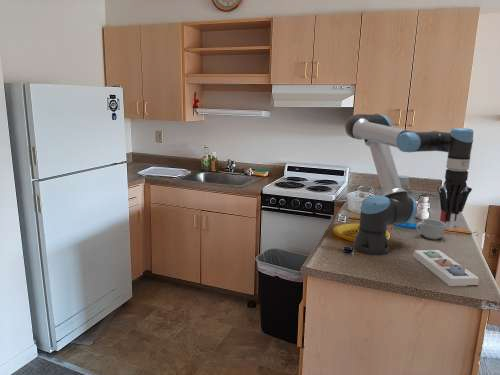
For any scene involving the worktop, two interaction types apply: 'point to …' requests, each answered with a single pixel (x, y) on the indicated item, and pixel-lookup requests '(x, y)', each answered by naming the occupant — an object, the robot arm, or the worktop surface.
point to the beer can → (442, 216)
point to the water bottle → (404, 182)
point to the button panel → (445, 269)
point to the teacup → (431, 228)
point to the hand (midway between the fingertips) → (449, 229)
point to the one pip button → (433, 254)
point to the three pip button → (444, 262)
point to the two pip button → (457, 270)
